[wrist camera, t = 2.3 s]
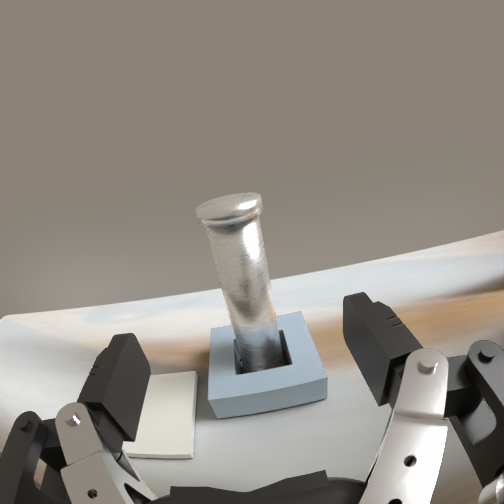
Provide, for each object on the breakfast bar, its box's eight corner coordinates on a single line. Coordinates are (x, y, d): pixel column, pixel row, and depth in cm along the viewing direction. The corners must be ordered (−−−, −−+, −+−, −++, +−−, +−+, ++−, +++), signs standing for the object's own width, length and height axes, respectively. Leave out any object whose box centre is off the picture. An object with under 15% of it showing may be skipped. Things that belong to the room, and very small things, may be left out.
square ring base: (290, 300, 37) (288, 280, 36) (327, 397, 22) (327, 377, 20) (218, 314, 37) (212, 295, 36) (217, 418, 22) (207, 399, 20)
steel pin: (284, 352, 28) (257, 189, 22) (292, 384, 24) (264, 202, 17) (241, 360, 28) (199, 201, 22) (244, 393, 24) (192, 217, 17)
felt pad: (198, 375, 27) (195, 370, 27) (193, 458, 18) (189, 454, 17) (116, 381, 27) (113, 377, 27) (94, 452, 18) (90, 448, 17)
